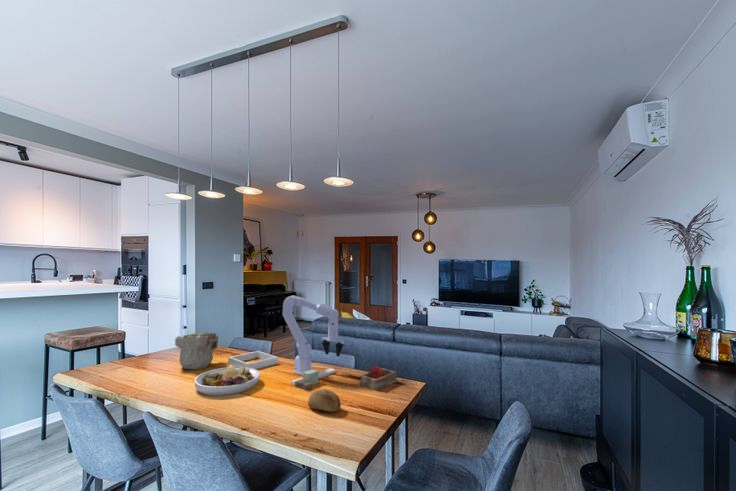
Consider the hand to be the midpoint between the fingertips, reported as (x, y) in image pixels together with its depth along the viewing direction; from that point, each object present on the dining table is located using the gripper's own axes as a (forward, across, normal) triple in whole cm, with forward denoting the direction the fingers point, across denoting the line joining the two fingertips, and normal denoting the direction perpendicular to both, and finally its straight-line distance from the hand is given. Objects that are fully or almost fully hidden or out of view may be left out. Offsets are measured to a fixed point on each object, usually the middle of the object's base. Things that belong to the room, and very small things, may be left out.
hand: (332, 355), depth 187 cm
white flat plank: (+10, -3, -12) cm, 16 cm away
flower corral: (+10, -51, -12) cm, 53 cm away
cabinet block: (+10, 0, -19) cm, 22 cm away
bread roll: (+10, +24, -40) cm, 48 cm away
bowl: (+10, -33, -43) cm, 55 cm away
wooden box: (+10, +30, -1) cm, 32 cm away
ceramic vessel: (+10, -75, -31) cm, 82 cm away
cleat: (+10, +1, -26) cm, 27 cm away
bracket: (+10, +30, -1) cm, 32 cm away
